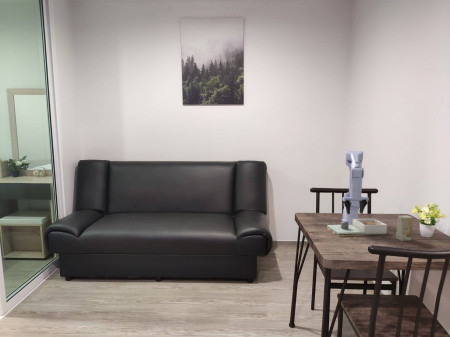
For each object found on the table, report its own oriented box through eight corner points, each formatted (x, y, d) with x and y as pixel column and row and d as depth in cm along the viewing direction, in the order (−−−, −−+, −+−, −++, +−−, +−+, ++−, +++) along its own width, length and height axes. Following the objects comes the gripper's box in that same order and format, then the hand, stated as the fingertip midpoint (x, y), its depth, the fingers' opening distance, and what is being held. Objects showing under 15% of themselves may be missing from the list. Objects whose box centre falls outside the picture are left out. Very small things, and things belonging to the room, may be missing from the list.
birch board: (326, 228, 198) (326, 227, 198) (349, 227, 200) (349, 226, 200) (338, 236, 183) (338, 235, 183) (363, 235, 185) (363, 234, 185)
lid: (327, 227, 197) (327, 218, 197) (350, 226, 199) (351, 218, 198) (337, 235, 184) (338, 226, 183) (362, 234, 185) (363, 225, 185)
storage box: (352, 227, 200) (352, 219, 199) (373, 226, 202) (373, 218, 201) (364, 234, 187) (364, 225, 186) (386, 233, 189) (387, 224, 188)
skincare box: (401, 241, 177) (403, 217, 175) (395, 238, 181) (397, 215, 180) (412, 240, 179) (413, 217, 177) (405, 237, 183) (407, 214, 181)
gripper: (347, 191, 187) (345, 215, 189) (372, 190, 189) (370, 215, 191) (341, 188, 194) (339, 212, 196) (365, 188, 196) (363, 211, 198)
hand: (354, 213), depth 194 cm, fingers open, 7 cm apart
